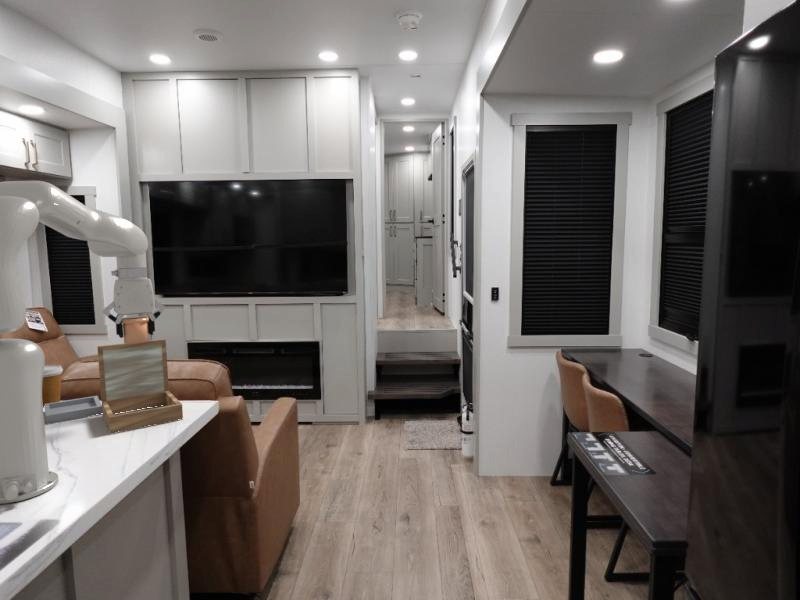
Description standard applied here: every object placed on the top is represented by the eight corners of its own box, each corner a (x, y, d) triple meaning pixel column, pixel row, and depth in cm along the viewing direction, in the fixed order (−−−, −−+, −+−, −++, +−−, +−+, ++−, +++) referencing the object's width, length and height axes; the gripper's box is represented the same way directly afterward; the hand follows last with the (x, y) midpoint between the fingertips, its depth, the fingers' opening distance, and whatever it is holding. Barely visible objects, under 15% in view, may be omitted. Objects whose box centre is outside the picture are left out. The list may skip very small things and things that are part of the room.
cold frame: (183, 419, 145) (178, 348, 143) (110, 433, 134) (104, 356, 132) (168, 403, 160) (164, 339, 158) (102, 415, 149) (97, 346, 147)
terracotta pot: (152, 341, 144) (151, 317, 143) (124, 344, 139) (122, 320, 139) (148, 338, 149) (146, 315, 149) (120, 341, 145) (119, 317, 145)
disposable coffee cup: (73, 400, 165) (70, 365, 163) (45, 409, 156) (42, 372, 154) (50, 398, 167) (47, 363, 166) (22, 407, 158) (19, 370, 157)
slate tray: (102, 414, 151) (102, 406, 150) (46, 424, 142) (45, 415, 142) (97, 403, 162) (97, 395, 162) (45, 411, 154) (44, 403, 153)
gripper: (98, 275, 134) (103, 340, 136) (168, 273, 145) (171, 334, 146) (95, 275, 141) (100, 337, 142) (162, 273, 151) (165, 331, 152)
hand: (136, 335), depth 144 cm, fingers closed on terracotta pot, 7 cm apart
